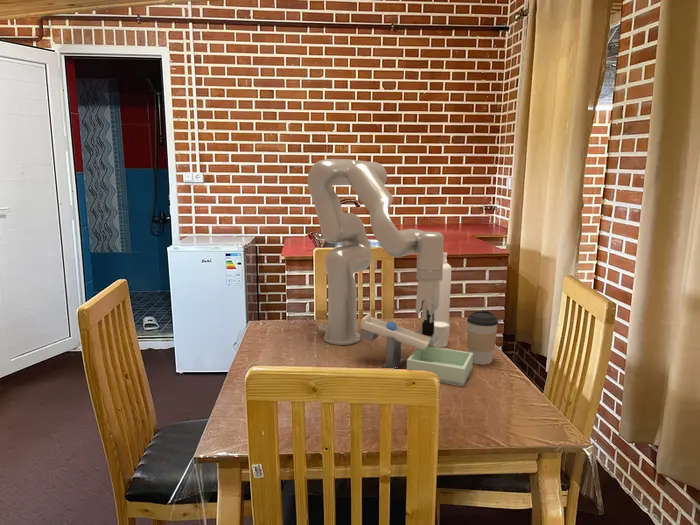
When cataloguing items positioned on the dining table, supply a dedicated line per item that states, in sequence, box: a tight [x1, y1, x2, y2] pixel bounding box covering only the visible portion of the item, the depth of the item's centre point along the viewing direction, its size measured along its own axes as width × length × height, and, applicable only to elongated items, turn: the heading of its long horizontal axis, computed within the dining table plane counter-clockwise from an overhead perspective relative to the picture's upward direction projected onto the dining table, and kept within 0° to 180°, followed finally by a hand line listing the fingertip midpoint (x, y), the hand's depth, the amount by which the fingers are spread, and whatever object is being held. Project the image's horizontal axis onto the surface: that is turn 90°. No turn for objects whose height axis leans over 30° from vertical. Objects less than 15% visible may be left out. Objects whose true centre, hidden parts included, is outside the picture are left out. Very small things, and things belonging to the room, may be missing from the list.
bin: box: [406, 345, 473, 387], centre depth 148 cm, size 16×13×5 cm
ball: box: [386, 321, 398, 331], centre depth 152 cm, size 3×3×3 cm
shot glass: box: [431, 321, 451, 348], centre depth 171 cm, size 7×7×7 cm
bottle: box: [434, 251, 452, 324], centre depth 183 cm, size 8×8×28 cm
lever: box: [359, 313, 438, 350], centre depth 155 cm, size 21×12×6 cm, turn 67°
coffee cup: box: [467, 310, 499, 366], centre depth 156 cm, size 9×9×15 cm
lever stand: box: [382, 337, 405, 370], centre depth 153 cm, size 4×8×10 cm, turn 157°
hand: (428, 334), depth 154 cm, fingers closed
